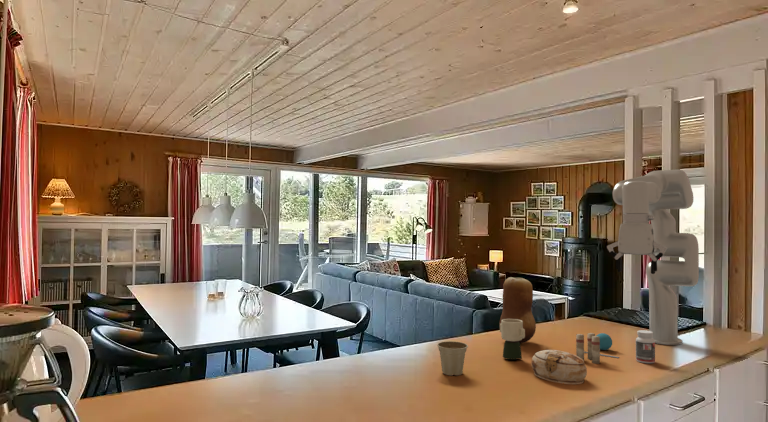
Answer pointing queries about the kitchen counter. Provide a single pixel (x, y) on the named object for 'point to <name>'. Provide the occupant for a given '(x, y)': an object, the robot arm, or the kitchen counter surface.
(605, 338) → the ball
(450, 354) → the flower pot
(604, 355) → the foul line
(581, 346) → the pin
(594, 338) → the pin
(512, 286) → the butternut squash
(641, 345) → the pill bottle
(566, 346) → the kitchen counter surface
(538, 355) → the trinket box
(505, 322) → the character mug
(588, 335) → the pin front
